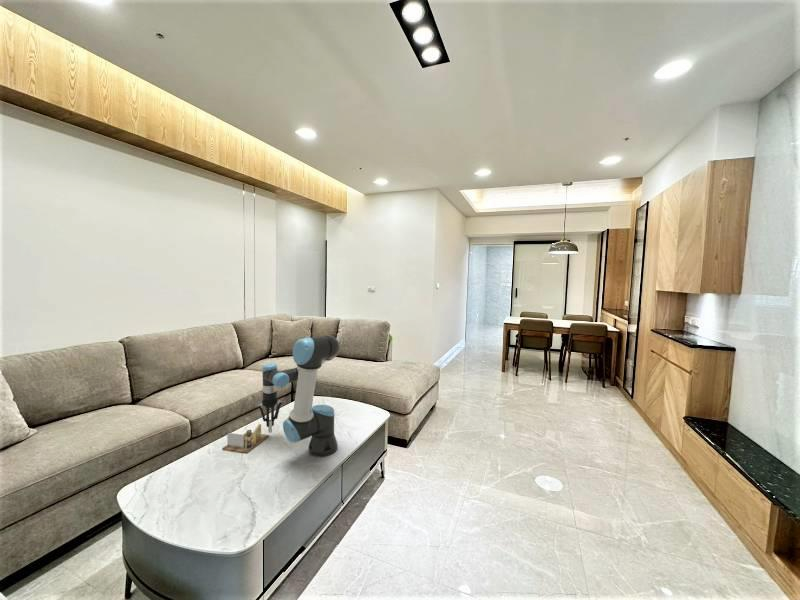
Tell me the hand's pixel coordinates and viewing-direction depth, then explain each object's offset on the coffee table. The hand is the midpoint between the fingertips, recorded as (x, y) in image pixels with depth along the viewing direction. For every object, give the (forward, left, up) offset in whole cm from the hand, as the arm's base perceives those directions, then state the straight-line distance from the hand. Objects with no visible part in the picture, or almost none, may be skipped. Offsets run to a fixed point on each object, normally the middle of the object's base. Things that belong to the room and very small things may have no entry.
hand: (270, 431), depth 187 cm
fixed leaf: (+8, +14, -2) cm, 17 cm away
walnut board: (+8, +9, -3) cm, 13 cm away
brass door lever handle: (+4, +9, -2) cm, 10 cm away
